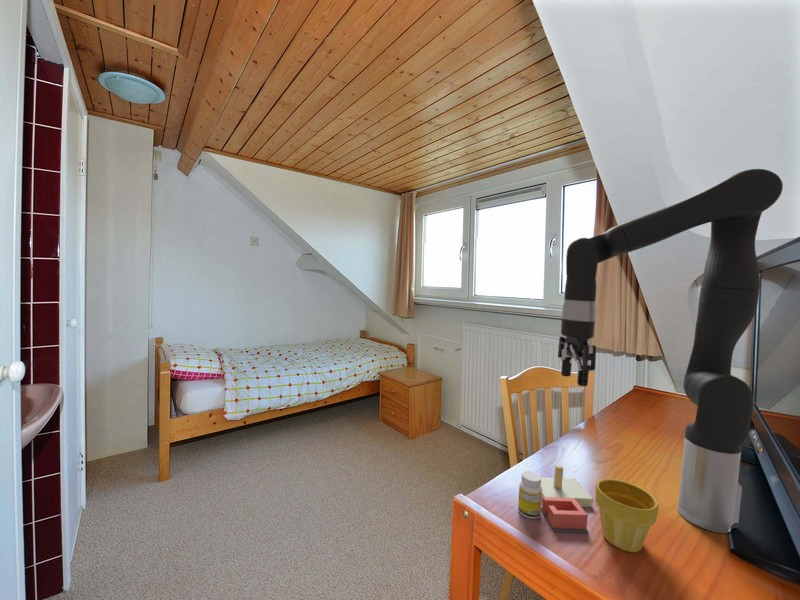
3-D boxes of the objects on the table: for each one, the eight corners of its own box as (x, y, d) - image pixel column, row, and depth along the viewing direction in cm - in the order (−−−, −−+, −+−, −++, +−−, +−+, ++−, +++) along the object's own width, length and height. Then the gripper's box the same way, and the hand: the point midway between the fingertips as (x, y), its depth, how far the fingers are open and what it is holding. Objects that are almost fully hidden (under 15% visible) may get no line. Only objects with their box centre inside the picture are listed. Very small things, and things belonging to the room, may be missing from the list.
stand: (574, 486, 88) (576, 459, 87) (592, 507, 80) (594, 477, 79) (531, 484, 88) (533, 457, 87) (544, 505, 80) (546, 475, 79)
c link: (573, 510, 78) (574, 498, 77) (586, 529, 72) (587, 515, 72) (541, 509, 78) (542, 496, 77) (552, 527, 72) (553, 513, 72)
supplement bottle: (522, 502, 81) (524, 467, 80) (543, 511, 78) (546, 475, 77) (514, 512, 77) (517, 476, 76) (536, 522, 74) (539, 484, 73)
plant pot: (629, 521, 75) (633, 478, 75) (667, 560, 65) (672, 510, 64) (582, 521, 75) (585, 477, 74) (613, 559, 65) (617, 509, 64)
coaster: (571, 510, 78) (571, 508, 78) (588, 533, 71) (588, 531, 71) (540, 509, 78) (540, 507, 78) (554, 532, 71) (554, 530, 71)
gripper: (609, 322, 81) (604, 390, 82) (578, 315, 96) (574, 373, 97) (577, 321, 81) (572, 388, 82) (551, 314, 96) (547, 372, 97)
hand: (573, 380), depth 90 cm, fingers open, 8 cm apart
